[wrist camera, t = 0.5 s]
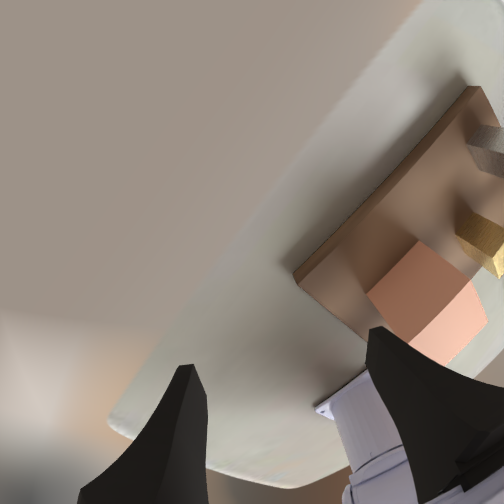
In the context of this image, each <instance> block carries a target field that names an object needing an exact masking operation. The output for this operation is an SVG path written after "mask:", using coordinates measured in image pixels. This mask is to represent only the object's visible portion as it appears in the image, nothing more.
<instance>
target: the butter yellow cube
mask: <svg viewBox="0 0 504 504" xmlns="http://www.w3.org/2000/svg"><path fill="white" fill-rule="evenodd" d="M455 235H456V237H457V239H458V241H459V243H460V245H461V247H462V249H463V251H464V253H465V254H466V255H467V256H469V257H470V258H472V259H473V260H474V261H476V262H477V263H478V264H480V265H481V266H483V267H484V268H485V269H487V270H488V271H489V272H491V273H492V274H493V275H495V276H496V277H497V278H499V279H500V277H501V276H502V275H503V274H504V228H503V227H501V226H500V225H498V224H496V223H494V222H492V221H490V220H488V219H487V218H485V217H483V216H481V215H479V214H477V213H475V212H473V213H472V214H471V216H470V217H469V218H468V219H467V221H466V222H465V223H464V224H463V225H462V227H461V228H460V229H459V230H458V231H457V233H456V234H455Z"/></svg>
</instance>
